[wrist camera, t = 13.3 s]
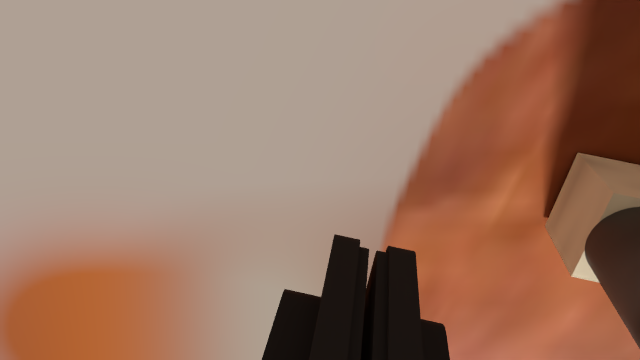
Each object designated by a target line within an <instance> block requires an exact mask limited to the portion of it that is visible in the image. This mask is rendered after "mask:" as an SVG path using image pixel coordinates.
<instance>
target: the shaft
mask: <svg viewBox="0 0 640 360" xmlns="http://www.w3.org/2000/svg"><path fill="white" fill-rule="evenodd" d="M545 228H546V230H547V231H548V233H549V235H550V237H551V239H552V241H553V243H554V245H555V247H556V248H557V250H558V252H559V254H560V256H561V258H562V260H563V262H564V264H565V265H566V267H567V269H568V271H569V273H570V275H571V276H572V277H576V278H581V279H586V280H590V281H595V282H600V284H601V286H602V287H603V289H604V290H605V292H606V294H607V295H608V297H609V299H610V300H611V302H612V304H613V305H614V307H615V309H616V310H617V312H618V314H619V315H620V317H621V319H622V320H623V322H624V324H625V325H626V327H627V328H628V330H629V332H630V333H631V335H632V337H633V338H634V340H635V342H636V343H637V345H638V347H639V348H640V165H637V164H632V163H627V162H623V161H618V160H613V159H608V158H603V157H598V156H593V155H588V154H583V153H577V155H576V158H575V160H574V162H573V164H572V167H571V169H570V171H569V173H568V175H567V178H566V180H565V182H564V184H563V187H562V189H561V191H560V193H559V196H558V198H557V200H556V202H555V204H554V207H553V209H552V211H551V213H550V216H549V218H548V220H547V222H546V225H545Z"/></svg>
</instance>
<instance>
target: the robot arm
mask: <svg viewBox="0 0 640 360" xmlns="http://www.w3.org/2000/svg"><path fill="white" fill-rule="evenodd" d="M368 257H369V249H367V248H362V247H360V240H359V239H353V238H349V237H344V236H340V235H334V239H333V244H332V249H331V253H330V258H329V263H328V268H327V272H326V278H325V282H324V287H323V291H322V296H321V297H318V296H314V295H309V294H305V293H300V292H295V291H291V290H286V289H285V290H284V292H283V294H282V297H281V300H280V304H279V307H278V310H277V313H276V316H275V320H274V323H273V326H272V329H271V332H270V335H269V338H268V342H267V345H266V348H265V351H264V355H263V357H262V360H450V357H449V350H448V343H447V336H446V330H445V327H444V325H443V324H441V323H436V322H432V321H427V320H423V319H420V306H419V292H418V279H417V266H416V254H415V252H414V251H410V250H405V249H401V248H396V247H391V246H388V247H387V250H386V252H381V251H376V254H375V258H374V261H373V265H372V269H371V273H370V277H369V280H368V284H367V288H366V283H367V270H368Z"/></svg>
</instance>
